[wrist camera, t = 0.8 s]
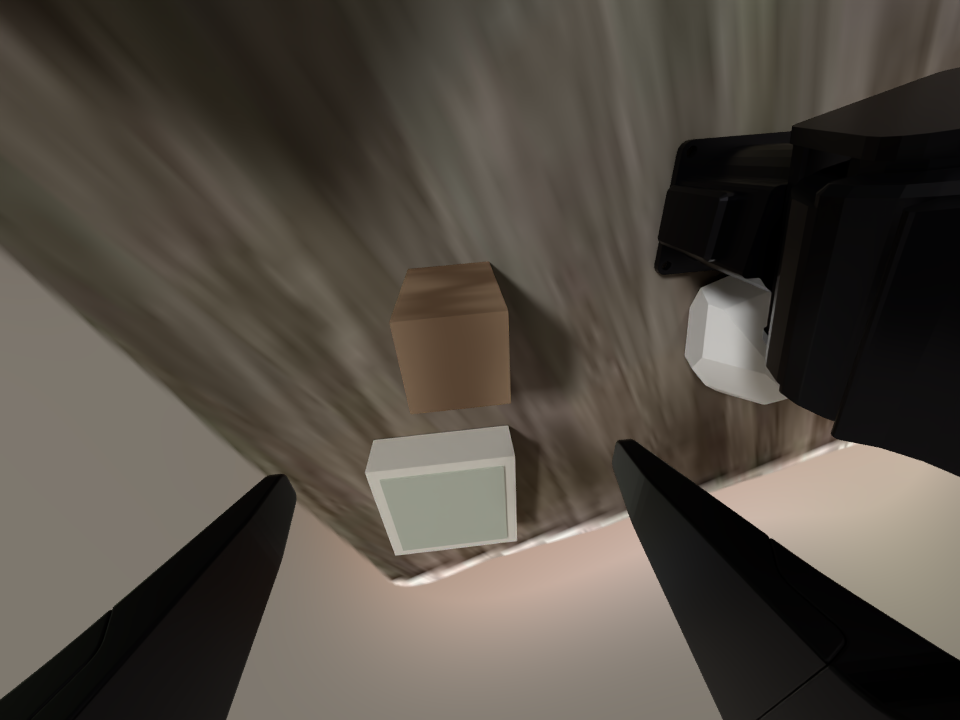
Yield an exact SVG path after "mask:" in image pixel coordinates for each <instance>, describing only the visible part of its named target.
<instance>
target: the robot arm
mask: <svg viewBox="0 0 960 720" xmlns="http://www.w3.org/2000/svg"><path fill="white" fill-rule="evenodd" d="M690 147H691V148H692V153H691V155H690V156H689V157H687V150H688V149H689V148H690ZM658 240H659V244H658V249H657V254H656V259H655V264H654V268H655V270H656V271H657V272H658V273H660V274H663V275H666V274H677V273H687V272H698V271H708V270H718V271H721V272H723V273H725V274H728V275H730V276H732V277H735V278H737V279H739V280H742V281H744V282H747V283H749V284H751V285H754V286H756V287H758V288H761V289H763V290H765V291H768V292H770V293H771V300H770V306H769V313H768V320H767V327H764V329H763V335H762V340H763V341H764V342H765V344H766V345H767V347H766V367H767V368H768V370H769V371H770V373H771V374H772V376H773V377H774V379H775V380H776V382H777V383H778V384H780V386H779V392H780V393H781V394H782V395H784V396H785V397H787V398H788V399H790V400H791V401H792V402H794V403H795V404H797V405H799V406H801V407H803V408H805V409H807V410H809V411H811V412H813V413H815V414H818V415H820V416H822V417H824V418H826V419H829V420H832V421H835V422H834V425H833V428H832V431H831V435H832V436H833V437H834V438H836V439H839V440H843V441H848V442H853V443H858V444H863V445H869V446H874V447H879V448H883V449H886V450H889V451H892V452H896V453H898V454H902V455H905V456H908V457H911V458H914V459H917V460H921V461H924V462H926V463H928V464H931V465H933V466H936V467H938V468H940V469H943V470H945V471H947V472H950V473H952V474H954V475H957V476H959V477H960V67H959V68H955V69H950V70H946V71H942V72H938V73H935V74H932V75H929V76H927V77H924V78H921V79H918V80H916V81H913V82H910V83H907V84H905V85H902V86H899V87H896V88H894V89H891V90H888V91H885V92H883V93H880V94H877V95H874V96H872V97H869V98H866V99H863V100H861V101H858V102H855V103H852V104H850V105H847V106H844V107H841V108H839V109H836V110H833V111H830V112H828V113H825V114H822V115H819V116H817V117H814V118H811V119H808V120H806V121H803V122H800V123H797V124H795V125H793V126H792V130H791V131H790V132H778V133H766V134H753V135H741V136H729V137H717V138H705V139H693V140H687V141H685V142H684V143H682V144H681V145H680V147H679V148H678V151H677V155H676V160H675V165H674V170H673V175H672V180H671V185H670V188H669V189H668V191H667V194H666V199H665V204H664V209H663V214H662V219H661V224H660V229H659V235H658ZM665 262H667V265H666V267H664V268H662V266H663V264H664V263H665ZM612 465H613V470H614V473H615V476H616V479H617V482H618V485H619V487H620V490H621V493H622V496H623V499H624V502H625V505H626V508H627V511H628V514H629V517H630V519H631V522H632V524H633V527H634V529H635V531H636V533H637V536H638V538H639V540H640V542H641V544H642V546H643V548H644V551H645V553H646V555H647V557H648V559H649V561H650V563H651V566H652V568H653V570H654V572H655V574H656V577H657V579H658V581H659V583H660V585H661V587H662V589H663V592H664V594H665V596H666V598H667V600H668V602H669V604H670V607H671V609H672V611H673V613H674V615H675V617H676V620H677V622H678V624H679V626H680V628H681V630H682V633H683V635H684V637H685V639H686V641H687V643H688V645H689V648H690V650H691V652H692V654H693V656H694V658H695V661H696V663H697V665H698V667H699V669H700V671H701V673H702V676H703V678H704V680H705V682H706V684H707V686H708V688H709V691H710V693H711V695H712V697H713V699H714V702H715V704H716V706H717V708H718V710H719V712H720V714H721V716H722V719H723V720H960V660H959V659H957V658H955V657H954V656H952V655H950V654H949V653H947V652H945V651H944V650H942V649H940V648H939V647H937V646H936V645H934V644H932V643H931V642H929V641H928V640H926V639H925V638H923V637H921V636H920V635H918V634H917V633H915V632H913V631H912V630H910V629H909V628H907V627H905V626H904V625H902V624H901V623H899V622H898V621H896V620H894V619H893V618H891V617H890V616H888V615H887V614H885V613H883V612H882V611H880V610H879V609H877V608H875V607H874V606H872V605H871V604H869V603H868V602H866V601H864V600H862V599H861V598H860V597H858V596H856V595H855V594H853V593H852V592H850V591H849V590H847V589H846V588H844V587H843V586H841V585H839V584H838V583H836V582H834V581H833V580H832V579H830V578H829V577H827V576H826V575H824V574H822V573H821V572H819V571H818V570H817V569H815V568H814V567H812V566H811V565H809V564H808V563H806V562H805V561H803V560H802V559H801V558H799V557H798V556H796V555H795V554H793V553H792V552H790V551H789V550H788V549H786V548H785V547H783V546H782V545H781V544H779V543H778V542H776V541H775V540H773V539H771V538H770V539H769V537H768V536H767V535H766V534H765V533H764V532H762V531H761V530H759V529H758V528H756V527H755V526H754V525H752V524H751V523H750V522H748V521H747V520H745V519H744V518H743V517H741V516H740V515H738V514H737V513H736V512H734V511H733V510H731V509H730V508H729V507H727V506H726V505H724V504H723V503H722V502H720V501H719V500H717V499H716V498H715V497H713V496H712V495H710V494H709V493H708V492H706V491H705V490H703V489H702V488H701V487H699V486H698V485H696V484H695V483H694V482H692V481H691V480H689V479H688V478H687V477H685V476H684V475H682V474H681V473H680V472H678V471H677V470H675V469H674V468H673V467H671V466H670V465H668V464H667V463H666V462H664V461H663V460H661V459H660V458H659V457H657V456H656V455H654V454H653V453H652V452H650V451H649V450H647V449H646V448H645V447H643V446H642V445H640V444H639V443H638V442H636V441H635V440H632V439H626V440H618V441H617V442H616V445H615V450H614V455H613V460H612ZM295 505H296V492H295V490H294V489H293V487H292V485H291V483H290V481H289V479H288V478H287V476H286V475H284V474H275V475H269V476H266V477H265V478H264V479H263V480H261V481H260V482H259V483H258V484H257V485H255V486H254V487H253V488H252V489H251V490H250V491H249V492H247V493H246V494H245V495H244V496H243V497H242V498H240V499H239V500H238V501H237V502H236V503H235V504H233V505H232V506H231V507H230V508H229V509H228V510H226V511H225V512H224V513H223V514H222V515H220V516H219V517H218V518H217V519H216V520H215V521H213V522H212V523H211V524H210V525H209V526H207V527H206V528H205V529H204V530H203V531H202V532H200V533H199V534H198V535H197V536H196V537H195V538H193V539H192V540H191V541H190V542H189V543H188V544H187V545H185V546H184V547H183V548H182V549H181V550H179V551H178V552H177V553H176V554H175V555H174V556H172V557H171V558H170V559H169V560H168V561H166V562H165V563H164V564H163V565H162V566H161V567H159V568H158V569H157V570H156V571H155V572H154V573H152V574H151V575H150V576H149V577H148V578H147V579H145V580H144V581H143V582H142V583H141V584H140V585H138V586H137V587H136V588H135V589H134V590H133V591H131V592H130V593H129V594H128V595H127V596H126V597H124V598H123V599H122V600H121V601H120V602H118V603H117V604H116V605H115V606H114V607H113V609H112V610H109V611H108V612H107V613H105V614H104V615H103V616H102V617H101V618H100V619H98V620H97V621H96V622H95V623H94V624H93V625H91V626H90V627H89V628H88V629H87V630H86V631H84V632H83V633H82V634H81V635H80V636H78V637H77V638H76V639H75V640H74V641H72V642H71V643H70V644H69V645H68V646H66V647H65V648H64V649H63V650H61V651H60V652H59V653H58V654H57V655H55V656H54V657H53V658H52V659H51V660H49V661H48V662H47V663H46V664H45V665H43V666H42V667H41V668H39V669H38V670H37V671H36V672H34V673H33V674H32V675H31V676H29V677H28V678H27V679H26V680H24V681H23V682H22V683H21V684H19V685H18V686H17V687H16V688H14V689H13V690H12V691H11V692H9V693H8V694H7V695H5V696H4V697H3V698H2V699H0V720H226V718H227V716H228V713H229V710H230V707H231V704H232V701H233V699H234V696H235V693H236V690H237V687H238V684H239V681H240V678H241V675H242V673H243V670H244V667H245V664H246V661H247V659H248V656H249V653H250V650H251V647H252V644H253V641H254V639H255V636H256V633H257V630H258V627H259V624H260V622H261V619H262V616H263V613H264V610H265V607H266V604H267V601H268V599H269V596H270V593H271V590H272V587H273V584H274V582H275V579H276V576H277V573H278V570H279V567H280V564H281V561H282V558H283V554H284V550H285V546H286V542H287V538H288V534H289V530H290V525H291V521H292V517H293V513H294V508H295Z"/></svg>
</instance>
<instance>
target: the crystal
mask: <svg viewBox="0 0 960 720" xmlns="http://www.w3.org/2000/svg"><path fill="white" fill-rule="evenodd" d="M770 300H771V293H770V292H768V291H765V290H763V289H761V288H758V287H756V286H754V285H751V284H749V283H747V282H744V281H742V280H739V279H737V278H735V277H732V276H727V277H725V278H723V279H720V280H718V281H715V282H713V283H711V284H708V285H706V286H704V287H701V288H700V290H699V292H698V293H697V295H696V297H695V299H694V301H693V303H692V304H691V306H690V311H689V320H688V329H687V338H686V347H685V357H686V359H687V361H688V363H689V364H690V366H691V368H692V369H693V371H694V372H695V373H696V374H697V376H698V377H699V378H700V379H701V381H702V382H703V383H704V384H705V385H706V386H708V387H710V388H712V389H713V390H715V391H718V392H721V393H724V394H728V395H731V396H734V397H738V398H741V399H745V400H748V401H752V402H755V403H759V404H762V405H766V404H770V403H774V402H777V401H781V400H785V399H788V398H787V397H785V396H784V395H782V394H781V393H780V392H779V386H780V384H778V383H777V382H776V380H775V379H774V377H773V376H772V374H771V373H770V371H769V370H768V368H767V367H766V347H767V345H766V344H765V342H764V341H763V340H762V335H763V329H764V327H767V320H768V313H769V306H770Z"/></svg>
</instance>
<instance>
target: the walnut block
mask: <svg viewBox="0 0 960 720" xmlns="http://www.w3.org/2000/svg"><path fill="white" fill-rule="evenodd" d="M389 323H390V327H391V332H392V336H393V340H394V345H395V349H396V353H397V358H398V362H399V366H400V370H401V375H402V379H403V383H404V388H405V392H406V396H407V401H408V405H409V409H410V414H418V413H427V412H436V411H446V410H455V409H464V408H473V407H483V406H492V405H501V404H510V403H511V390H510V355H509V319H508V309H507V306H506V304H505V301H504V299H503V296H502V294H501V291H500V288H499V286H498V283H497V281H496V278H495V276H494V273H493V271H492V268H491V266H490V263H489V262H479V263H468V264H457V265H446V266H436V267H425V268H414V269H408V270H407V273H406V276H405V279H404V282H403V285H402V288H401V290H400V293H399V296H398V299H397V302H396V305H395V308H394V311H393V313H392V316H391V319H390V322H389Z"/></svg>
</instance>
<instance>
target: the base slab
mask: <svg viewBox="0 0 960 720" xmlns="http://www.w3.org/2000/svg"><path fill="white" fill-rule="evenodd" d="M365 474H366V477H367V480H368V482H369V485H370V488H371V490H372V493H373V496H374V499H375V501H376V504H377V507H378V509H379V512H380V515H381V518H382V520H383V523H384V526H385V528H386V531H387V534H388V537H389V539H390V542H391V545H392V547H393V550H394V553H395V556H396V555H404V554H413V553H421V552H429V551H437V550H446V549H454V548H462V547H470V546H479V545H487V544H495V543H504V542H512V541H517V521H516V477H515V454H514V449H513V445H512V440H511V436H510V431H509V427H508V425H507V426H498V427H489V428H480V429H471V430H462V431H453V432H443V433H434V434H425V435H416V436H407V437H398V438H389V439H379V440H374V441H373V444H372V448H371V452H370V456H369V460H368V463H367V467H366V471H365Z"/></svg>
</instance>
